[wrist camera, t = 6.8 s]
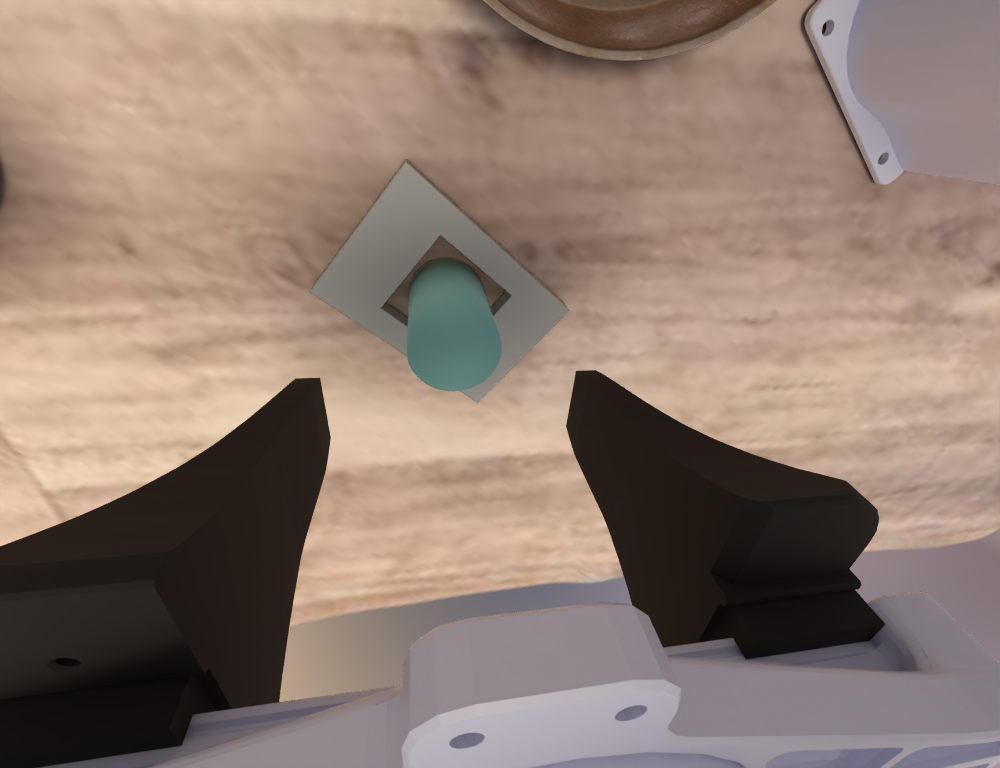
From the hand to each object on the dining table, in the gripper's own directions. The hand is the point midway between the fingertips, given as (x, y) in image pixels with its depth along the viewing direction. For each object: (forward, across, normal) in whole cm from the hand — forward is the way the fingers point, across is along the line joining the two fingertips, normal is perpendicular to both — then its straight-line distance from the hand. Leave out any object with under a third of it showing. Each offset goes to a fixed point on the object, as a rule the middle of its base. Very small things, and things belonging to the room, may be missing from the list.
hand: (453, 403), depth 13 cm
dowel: (+10, 0, +1) cm, 10 cm away
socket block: (+10, 0, +1) cm, 10 cm away
